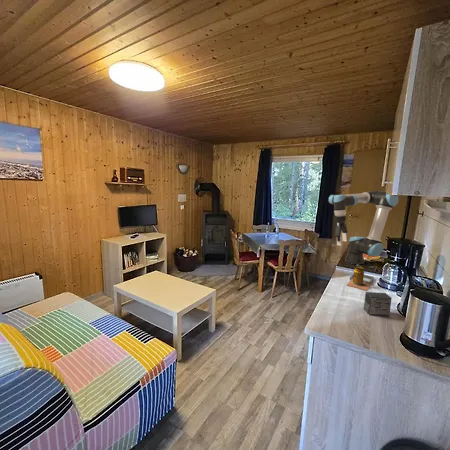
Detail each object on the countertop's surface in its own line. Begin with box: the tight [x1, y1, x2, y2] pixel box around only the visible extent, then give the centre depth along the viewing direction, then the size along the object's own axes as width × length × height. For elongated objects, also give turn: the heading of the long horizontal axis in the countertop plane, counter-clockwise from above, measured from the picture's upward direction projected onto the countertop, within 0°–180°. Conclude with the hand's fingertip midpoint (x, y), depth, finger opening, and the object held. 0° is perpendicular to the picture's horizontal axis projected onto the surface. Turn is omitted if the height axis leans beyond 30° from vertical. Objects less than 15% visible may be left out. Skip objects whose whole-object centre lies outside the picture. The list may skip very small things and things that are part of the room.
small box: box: [363, 291, 393, 317], centre depth 127 cm, size 11×6×10 cm, turn 84°
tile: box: [346, 279, 372, 292], centre depth 162 cm, size 12×12×1 cm
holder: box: [349, 273, 375, 285], centre depth 172 cm, size 13×13×2 cm
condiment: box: [349, 265, 367, 286], centre depth 161 cm, size 7×8×12 cm
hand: (342, 243), depth 179 cm, fingers open, 13 cm apart
